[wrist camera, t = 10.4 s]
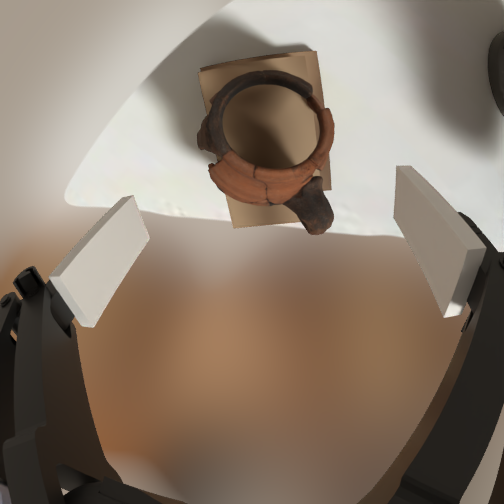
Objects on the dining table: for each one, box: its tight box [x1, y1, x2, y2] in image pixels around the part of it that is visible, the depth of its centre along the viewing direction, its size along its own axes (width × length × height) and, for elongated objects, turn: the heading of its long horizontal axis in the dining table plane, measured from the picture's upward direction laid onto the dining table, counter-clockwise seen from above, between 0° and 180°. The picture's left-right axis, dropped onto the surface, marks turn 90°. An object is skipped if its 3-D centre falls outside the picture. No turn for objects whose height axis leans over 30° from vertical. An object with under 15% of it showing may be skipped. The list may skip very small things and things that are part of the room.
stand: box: [198, 51, 331, 228], centre depth 25 cm, size 12×16×10 cm
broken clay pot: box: [197, 70, 334, 235], centre depth 19 cm, size 12×10×8 cm
